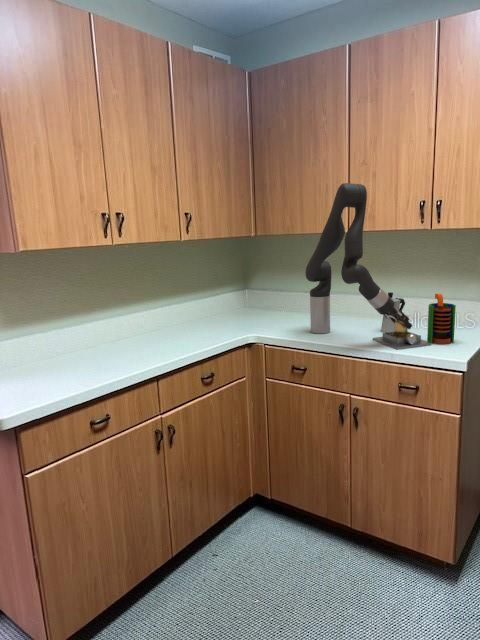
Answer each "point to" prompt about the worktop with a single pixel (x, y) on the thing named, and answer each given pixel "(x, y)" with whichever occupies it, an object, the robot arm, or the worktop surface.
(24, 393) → the worktop surface
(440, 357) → the worktop surface
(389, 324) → the coffee maker
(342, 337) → the worktop surface
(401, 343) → the coupling base
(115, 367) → the worktop surface
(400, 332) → the gold tall waisted piece
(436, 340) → the motor
